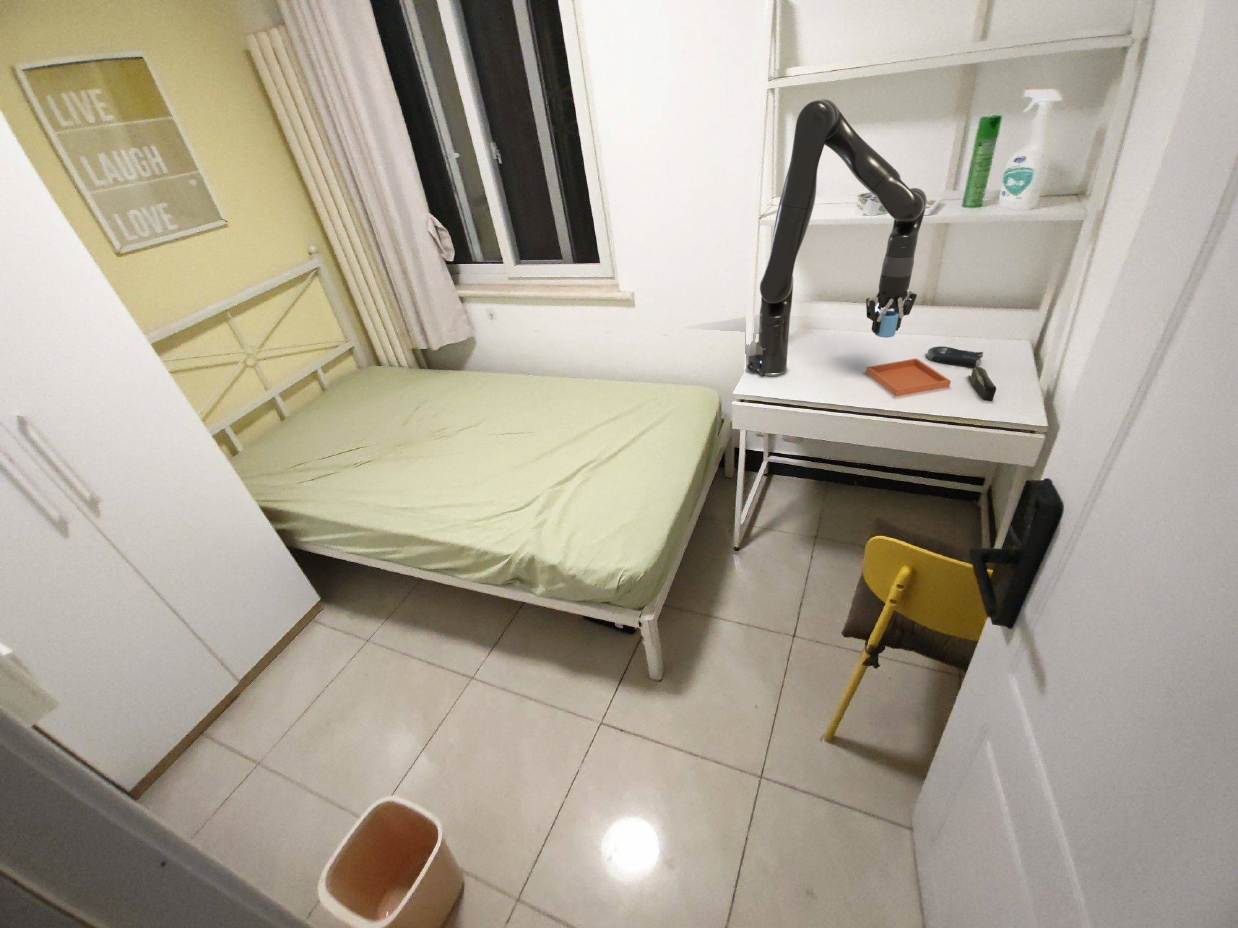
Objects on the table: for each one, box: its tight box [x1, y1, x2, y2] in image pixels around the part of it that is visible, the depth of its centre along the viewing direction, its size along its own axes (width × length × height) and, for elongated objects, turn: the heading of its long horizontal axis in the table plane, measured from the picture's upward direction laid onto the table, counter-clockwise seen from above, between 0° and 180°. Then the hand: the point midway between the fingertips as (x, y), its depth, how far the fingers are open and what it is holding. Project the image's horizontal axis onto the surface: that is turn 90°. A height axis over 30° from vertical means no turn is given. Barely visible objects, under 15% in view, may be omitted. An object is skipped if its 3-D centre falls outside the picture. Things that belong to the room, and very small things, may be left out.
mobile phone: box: [967, 366, 997, 402], centre depth 159 cm, size 5×3×15 cm
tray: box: [865, 358, 952, 397], centre depth 169 cm, size 17×17×2 cm
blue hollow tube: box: [874, 310, 899, 339], centre depth 158 cm, size 5×5×6 cm
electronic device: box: [926, 345, 984, 368], centre depth 176 cm, size 9×6×15 cm
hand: (885, 331), depth 160 cm, fingers closed on blue hollow tube, 5 cm apart
